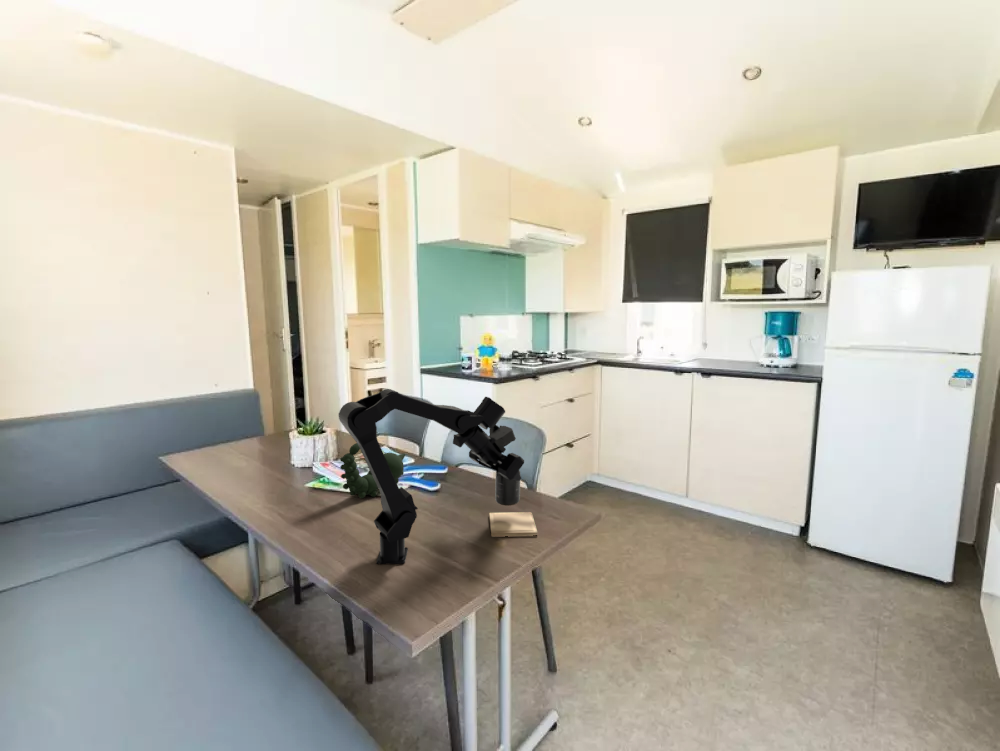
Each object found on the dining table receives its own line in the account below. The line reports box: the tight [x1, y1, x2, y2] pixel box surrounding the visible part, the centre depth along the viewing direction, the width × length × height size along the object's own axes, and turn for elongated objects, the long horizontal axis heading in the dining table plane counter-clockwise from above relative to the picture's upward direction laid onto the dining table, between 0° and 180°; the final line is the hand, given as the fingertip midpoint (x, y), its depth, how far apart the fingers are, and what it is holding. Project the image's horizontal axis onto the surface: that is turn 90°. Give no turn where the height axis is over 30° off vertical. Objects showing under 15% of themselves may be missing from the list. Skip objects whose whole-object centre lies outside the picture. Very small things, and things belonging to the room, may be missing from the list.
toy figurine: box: [339, 442, 406, 499], centre depth 150 cm, size 9×19×25 cm
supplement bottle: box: [494, 463, 521, 507], centre depth 129 cm, size 7×7×12 cm
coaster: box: [489, 511, 538, 538], centre depth 129 cm, size 12×12×1 cm
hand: (512, 475), depth 130 cm, fingers closed on supplement bottle, 7 cm apart
